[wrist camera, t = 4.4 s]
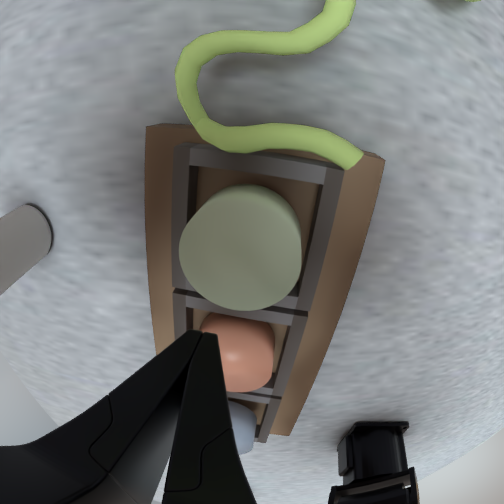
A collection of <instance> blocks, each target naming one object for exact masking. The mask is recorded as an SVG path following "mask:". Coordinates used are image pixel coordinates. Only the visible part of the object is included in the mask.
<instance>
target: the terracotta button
mask: <svg viewBox="0 0 504 504" xmlns="http://www.w3.org/2000/svg"><path fill="white" fill-rule="evenodd" d="M199 330H200V331H202V332H203V333H204V332H210V333H215V334H217V335H218V340H219V347H220V354H221V360H222V367H223V373H224V379H225V385H226V391H229V392H249V391H253V390H256V389H259V388H261V387H262V386H264V385H265V384H266V383H267V382H268V381H269V379H270V378H271V375H272V368H273V360H274V351H275V335H274V333H273V331H272V329H271V327H270V326H269V325H268V324H267V323H266V322H264V321H258V320H252V319H247V318H241V317H236V316H230V315H225V314H220V313H215V312H214V313H212V314H210V315H209V316H207V317H206V318H205V319H204V320H203V322H202V324H201V326H200V328H199Z"/></svg>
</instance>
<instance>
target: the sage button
mask: <svg viewBox="0 0 504 504" xmlns="http://www.w3.org/2000/svg"><path fill="white" fill-rule="evenodd" d="M179 259H180V264H181V267H182V270H183V272H184V274H185V276H186V278H187V280H188V281H189V283H190V284H191V285H192V286H193V288H194V289H195V290H196V291H197V292H198V293H199V294H201V295H202V296H203V297H204V298H206V299H207V300H209V301H211V302H212V303H215V304H217V305H219V306H222V307H224V308H228V309H232V310H239V311H252V310H259V309H263V308H266V307H269V306H271V305H273V304H276V303H277V302H279V301H280V300H282V299H283V298H284V297H285V296H287V294H288V293H289V292H290V291H291V290H292V289H293V287H294V286H295V284H296V282H297V280H298V278H299V274H300V271H301V229H300V224H299V221H298V218H297V216H296V213H295V212H294V210H293V208H292V207H291V206H290V204H289V203H288V202H287V201H286V200H285V199H284V198H283V197H282V196H280V195H279V194H277V193H276V192H274V191H272V190H270V189H268V188H266V187H263V186H259V185H255V184H236V185H231V186H228V187H225V188H223V189H221V190H219V191H218V192H216V193H215V194H213V195H212V196H211V197H210V198H209V199H208V200H207V201H206V202H205V203H204V205H203V206H202V207H201V208H200V209H199V210H198V212H197V213H196V214H195V215H194V216H193V217H192V219H191V220H190V221H189V222H188V224H187V225H186V227H185V228H184V230H183V233H182V235H181V238H180V243H179Z"/></svg>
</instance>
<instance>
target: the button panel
mask: <svg viewBox="0 0 504 504" xmlns="http://www.w3.org/2000/svg"><path fill="white" fill-rule="evenodd" d="M361 151H362V150H361ZM362 152H363V153H364V154H363V156H362V158H361V159H360V160H359V161H358V162H357V163H356V164H355V165H354V166H353V167H351V168H350V169H348V170H345V169H343V168H341V167H340V166H338V165H336V164H335V163H333V162H332V161H330V160H328V159H326V158H323V157H321V156H319V155H317V154H314V153H312V152H306V151H299V150H292V149H265V150H260V151H255V152H251V153H229V152H226V151H224V150H221V149H219V148H218V147H216V146H214V145H212V144H211V143H209V142H207V141H205V140H203V139H202V138H201V136H200V135H199V133H198V132H197V130H196V129H195V128H194V126H193V125H183V124H163V123H161V124H156V125H152V126H147V127H146V143H145V230H146V252H147V269H148V282H149V294H150V305H151V315H152V324H153V332H154V340H155V348H156V355H158V354H159V353H160V352H161V351H163V350H164V349H165V348H166V347H168V346H169V345H170V344H171V343H172V342H174V341H175V340H176V339H177V338H179V337H180V336H181V335H182V334H184V333H185V332H186V331H187V330H189V329H195V330H199V328H200V326H201V324H202V322H203V320H204V319H205V318H206V317H207V316H209V315H210V314H212V313H214V312H215V313H220V314H225V315H230V316H236V317H241V318H247V319H252V320H258V321H264V322H266V323H267V324H268V325H269V326H270V327H271V329H272V331H273V333H274V335H275V351H274V360H273V368H272V375H271V378H270V379H269V381H268V382H267V383H266V384H265V385H264V386H262V387H261V388H259V389H256V390H253V391H249V392H229V391H227V397H228V401H232V402H235V403H238V404H241V405H243V406H245V407H247V408H248V409H250V410H251V411H252V412H253V413H254V414H255V415H256V417H257V424H256V430H255V436H254V442H261V443H266V441H267V438H268V435H269V434H276V435H284V436H289V435H290V433H291V431H292V429H293V427H294V425H295V423H296V420H297V418H298V416H299V414H300V412H301V410H302V408H303V405H304V403H305V401H306V399H307V397H308V394H309V392H310V390H311V388H312V385H313V383H314V381H315V378H316V376H317V374H318V371H319V369H320V367H321V364H322V362H323V359H324V357H325V354H326V352H327V349H328V347H329V344H330V342H331V339H332V337H333V334H334V331H335V329H336V326H337V323H338V321H339V318H340V315H341V312H342V310H343V307H344V304H345V301H346V298H347V295H348V292H349V289H350V286H351V283H352V280H353V277H354V274H355V271H356V268H357V265H358V262H359V259H360V255H361V252H362V249H363V245H364V242H365V239H366V235H367V232H368V228H369V225H370V221H371V217H372V214H373V210H374V206H375V202H376V198H377V194H378V190H379V186H380V182H381V178H382V173H383V169H384V165H385V160H384V159H383V158H381V157H380V156H378V155H377V154H374V153H370V152H366V151H362ZM236 184H255V185H259V186H263V187H266V188H268V189H270V190H272V191H274V192H276V193H277V194H279V195H280V196H282V197H283V198H284V199H285V200H286V201H287V202H288V203H289V204H290V206H291V207H292V208H293V210H294V212H295V213H296V216H297V218H298V221H299V224H300V229H301V271H300V274H299V278H298V280H297V282H296V284H295V286H294V287H293V289H292V290H291V291H290V292H289V293H288V294H287V296H285V297H284V298H283V299H282V300H280V301H279V302H277V303H276V304H273V305H271V306H269V307H266V308H263V309H259V310H252V311H239V310H232V309H228V308H224V307H222V306H219V305H217V304H215V303H212V302H211V301H209V300H207V299H206V298H204V297H203V296H202V295H201V294H199V293H198V292H197V291H196V290H195V289H194V288H193V286H192V285H191V284H190V283H189V281H188V280H187V278H186V276H185V274H184V272H183V270H182V267H181V264H180V259H179V243H180V238H181V235H182V233H183V230H184V228H185V227H186V225H187V224H188V222H189V221H190V220H191V219H192V217H193V216H194V215H195V214H196V213H197V212H198V210H199V209H200V208H201V207H202V206H203V205H204V203H205V202H206V201H207V200H208V199H209V198H210V197H211V196H212V195H213V194H215V193H216V192H218V191H219V190H221V189H223V188H225V187H228V186H231V185H236Z"/></svg>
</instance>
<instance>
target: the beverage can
mask: <svg viewBox="0 0 504 504" xmlns="http://www.w3.org/2000/svg"><path fill="white" fill-rule="evenodd" d="M50 244H51V230H50V227H49V224H48V222H47V220H46V218H45V217H44V215H43V214H42V213H41V212H40V211H39V210H37V209H36V208H34V207H32V206H29V205H22V206H20V207H18V208H17V209H15V210H13V211H11V212H10V213H8V214H6V215H5V216H3V217H1V218H0V295H1V294H3V293H4V292H5V291H6V290H7V289H8V288H9V287H10V286H11V285H13V284H14V283H15V282H16V281H17V280H18V279H19V278H20V277H22V276H23V275H24V274H25V273H26V272H27V271H29V270H30V269H31V268H32V267H33V266H34V265H36V264H37V263H38V262H39V261H40V260H41V259H43V258H44V257H45V256H46V255H47V254H48V251H49V249H50Z"/></svg>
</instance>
